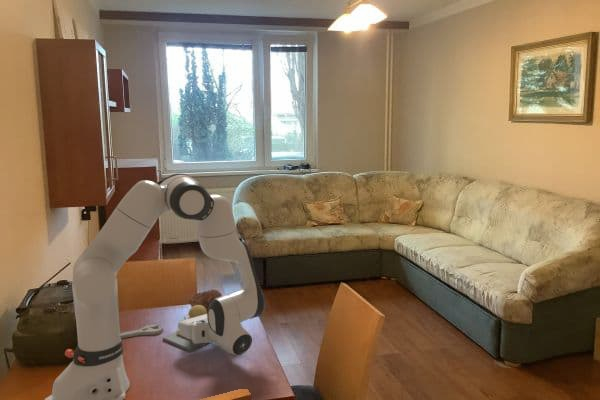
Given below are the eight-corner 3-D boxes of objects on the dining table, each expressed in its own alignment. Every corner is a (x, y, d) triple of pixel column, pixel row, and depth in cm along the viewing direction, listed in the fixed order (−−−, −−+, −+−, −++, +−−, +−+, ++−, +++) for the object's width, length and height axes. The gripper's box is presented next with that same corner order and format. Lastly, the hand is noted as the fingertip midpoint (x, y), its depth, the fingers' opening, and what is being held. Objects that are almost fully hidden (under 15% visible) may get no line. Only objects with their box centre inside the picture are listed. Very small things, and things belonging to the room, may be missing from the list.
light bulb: (205, 336, 177) (204, 309, 175) (187, 336, 177) (186, 309, 175) (209, 328, 183) (208, 302, 182) (191, 328, 183) (190, 302, 182)
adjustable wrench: (87, 346, 174) (86, 341, 173) (87, 338, 180) (87, 333, 179) (163, 334, 182) (162, 329, 182) (161, 327, 188) (161, 322, 188)
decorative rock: (221, 307, 205) (220, 283, 203) (226, 318, 195) (225, 293, 193) (188, 311, 201) (187, 287, 199) (191, 323, 191) (190, 297, 189)
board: (189, 351, 168) (189, 344, 168) (162, 340, 177) (162, 333, 176) (233, 330, 184) (232, 324, 184) (206, 320, 192) (206, 314, 192)
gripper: (244, 310, 173) (224, 298, 184) (189, 326, 161) (170, 313, 172) (245, 328, 174) (225, 315, 185) (190, 345, 162) (171, 330, 173)
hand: (198, 314), depth 178 cm, fingers open, 8 cm apart
